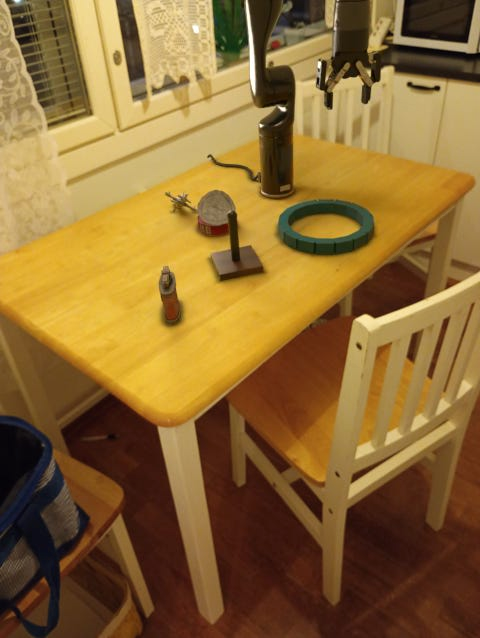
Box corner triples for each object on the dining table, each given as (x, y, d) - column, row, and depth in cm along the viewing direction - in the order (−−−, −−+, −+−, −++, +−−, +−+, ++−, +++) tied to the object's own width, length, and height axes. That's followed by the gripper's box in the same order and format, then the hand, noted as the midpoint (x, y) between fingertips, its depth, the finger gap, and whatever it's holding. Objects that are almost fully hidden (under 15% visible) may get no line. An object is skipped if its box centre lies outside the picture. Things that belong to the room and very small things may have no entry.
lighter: (165, 301, 112) (157, 261, 106) (180, 300, 112) (174, 260, 106) (163, 325, 105) (155, 283, 99) (180, 323, 105) (173, 282, 99)
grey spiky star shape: (194, 200, 151) (204, 201, 142) (185, 219, 151) (194, 221, 143) (164, 183, 146) (172, 182, 138) (154, 202, 147) (161, 203, 138)
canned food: (235, 236, 142) (250, 206, 135) (218, 250, 134) (233, 220, 128) (201, 212, 143) (215, 182, 136) (182, 225, 135) (196, 194, 129)
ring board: (210, 258, 124) (204, 205, 116) (251, 250, 126) (247, 197, 118) (220, 280, 117) (214, 225, 108) (263, 272, 118) (260, 216, 110)
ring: (267, 218, 138) (266, 208, 137) (349, 203, 142) (350, 193, 140) (296, 262, 120) (296, 251, 119) (389, 243, 124) (391, 232, 122)
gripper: (374, 18, 113) (368, 97, 122) (312, 26, 110) (311, 106, 120) (391, 23, 107) (383, 106, 117) (325, 31, 104) (323, 115, 114)
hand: (346, 106), depth 118 cm, fingers open, 8 cm apart
